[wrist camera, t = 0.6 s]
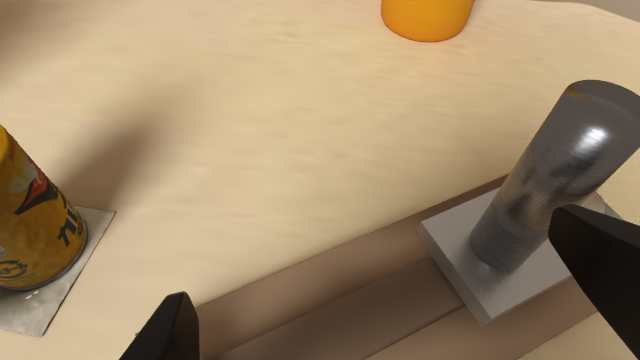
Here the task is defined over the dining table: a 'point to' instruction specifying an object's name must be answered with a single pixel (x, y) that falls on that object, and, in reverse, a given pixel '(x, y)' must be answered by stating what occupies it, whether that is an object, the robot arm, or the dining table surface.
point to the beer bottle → (426, 18)
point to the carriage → (534, 202)
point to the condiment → (38, 241)
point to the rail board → (373, 268)
